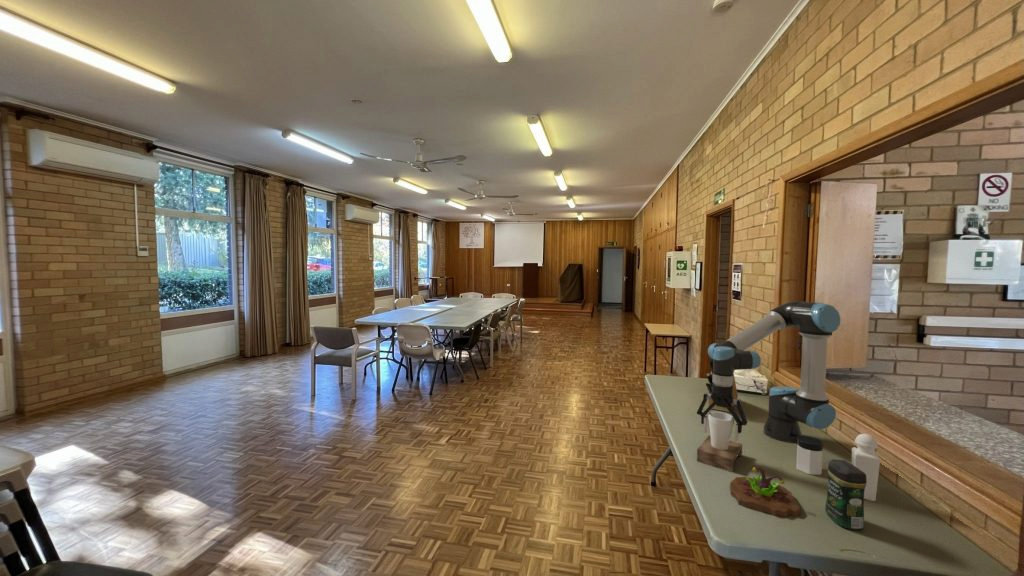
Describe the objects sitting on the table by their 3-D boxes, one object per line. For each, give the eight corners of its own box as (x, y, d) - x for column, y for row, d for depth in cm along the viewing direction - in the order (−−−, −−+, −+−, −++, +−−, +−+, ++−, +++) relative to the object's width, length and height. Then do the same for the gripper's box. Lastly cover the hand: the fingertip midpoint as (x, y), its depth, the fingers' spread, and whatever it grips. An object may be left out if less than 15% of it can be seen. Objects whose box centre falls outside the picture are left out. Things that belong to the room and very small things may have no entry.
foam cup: (735, 452, 160) (737, 421, 159) (711, 450, 161) (712, 419, 161) (728, 442, 169) (729, 412, 168) (704, 440, 171) (706, 410, 170)
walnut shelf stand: (741, 455, 168) (742, 443, 168) (732, 472, 154) (732, 459, 154) (708, 446, 176) (709, 435, 176) (696, 461, 163) (697, 449, 162)
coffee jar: (820, 510, 130) (823, 456, 129) (846, 512, 129) (849, 457, 128) (840, 530, 121) (844, 471, 119) (869, 532, 120) (873, 473, 119)
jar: (827, 472, 154) (828, 442, 153) (815, 477, 151) (817, 447, 150) (802, 462, 162) (803, 433, 161) (790, 466, 159) (791, 437, 158)
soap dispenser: (877, 502, 135) (881, 440, 133) (852, 496, 138) (856, 435, 137) (873, 493, 140) (876, 433, 139) (849, 487, 144) (852, 429, 142)
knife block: (703, 413, 215) (705, 357, 213) (717, 396, 243) (719, 347, 241) (726, 418, 208) (728, 360, 206) (738, 400, 236) (740, 349, 234)
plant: (725, 478, 150) (726, 450, 149) (786, 489, 143) (787, 459, 142) (734, 509, 131) (736, 476, 131) (805, 523, 124) (806, 488, 124)
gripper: (689, 380, 168) (688, 430, 170) (753, 392, 153) (751, 447, 154) (695, 377, 174) (693, 425, 175) (757, 388, 159) (755, 441, 160)
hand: (720, 435), depth 165 cm, fingers open, 11 cm apart
